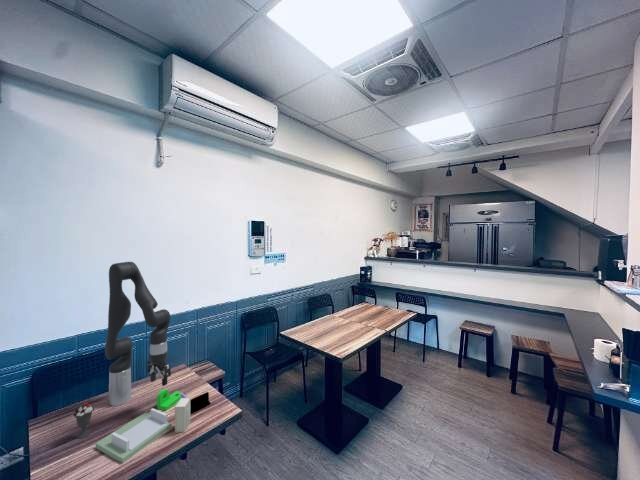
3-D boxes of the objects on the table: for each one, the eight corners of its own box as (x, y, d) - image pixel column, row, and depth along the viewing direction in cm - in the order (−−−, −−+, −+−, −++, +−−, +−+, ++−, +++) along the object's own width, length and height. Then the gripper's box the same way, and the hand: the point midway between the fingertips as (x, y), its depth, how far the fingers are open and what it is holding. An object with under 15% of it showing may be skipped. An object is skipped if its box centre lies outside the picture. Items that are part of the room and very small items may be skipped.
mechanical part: (166, 411, 128) (166, 395, 128) (156, 408, 129) (156, 393, 129) (185, 396, 139) (185, 382, 139) (176, 394, 141) (176, 380, 141)
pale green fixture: (95, 447, 105) (95, 433, 105) (145, 416, 124) (145, 404, 123) (122, 463, 98) (122, 448, 98) (171, 427, 116) (171, 414, 116)
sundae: (98, 430, 114) (97, 397, 114) (79, 442, 108) (79, 407, 108) (88, 427, 116) (88, 394, 116) (70, 438, 110) (69, 403, 110)
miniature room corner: (187, 417, 124) (187, 403, 124) (177, 406, 132) (177, 393, 131) (211, 404, 133) (211, 391, 133) (201, 395, 141) (201, 382, 140)
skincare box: (181, 423, 119) (181, 397, 119) (190, 422, 120) (190, 397, 119) (174, 433, 113) (174, 406, 113) (184, 433, 113) (184, 406, 113)
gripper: (141, 351, 127) (141, 383, 128) (160, 356, 122) (161, 390, 122) (156, 345, 134) (156, 376, 135) (175, 350, 129) (175, 382, 129)
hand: (158, 383), depth 128 cm, fingers open, 8 cm apart
